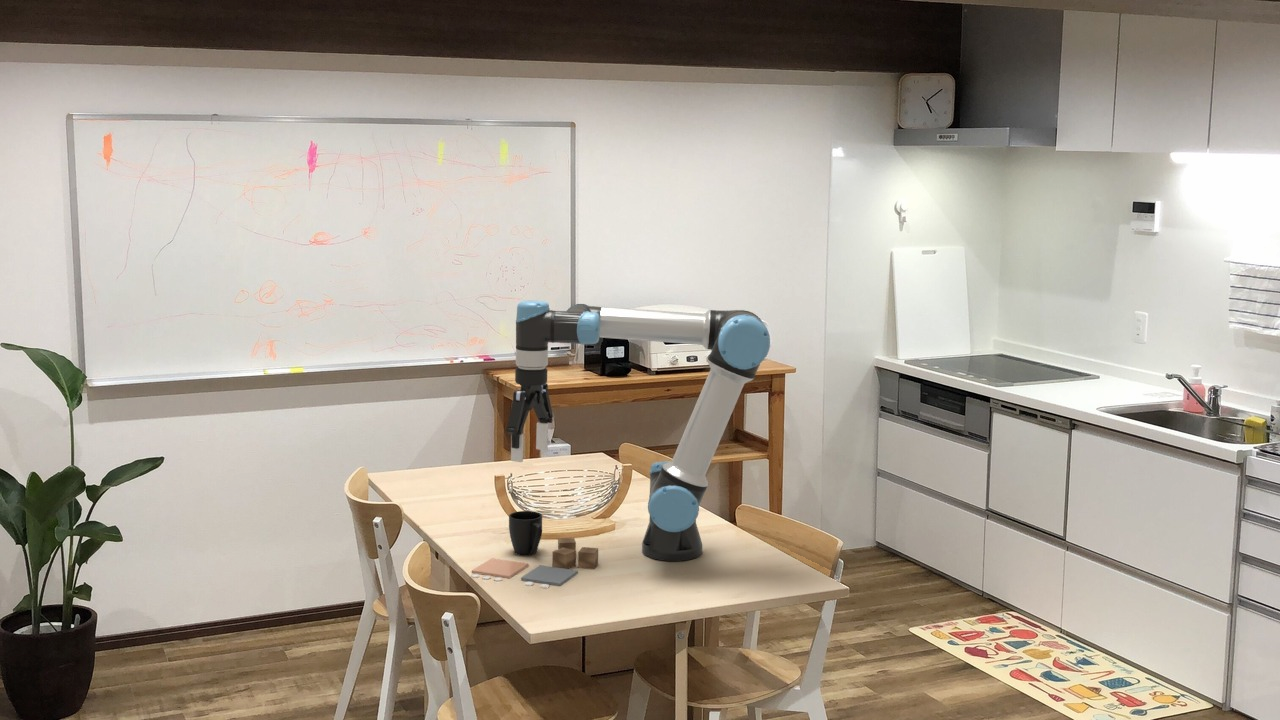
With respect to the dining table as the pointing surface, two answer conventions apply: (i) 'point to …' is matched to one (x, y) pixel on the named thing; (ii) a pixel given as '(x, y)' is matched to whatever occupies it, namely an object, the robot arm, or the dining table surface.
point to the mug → (525, 531)
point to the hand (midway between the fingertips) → (529, 455)
